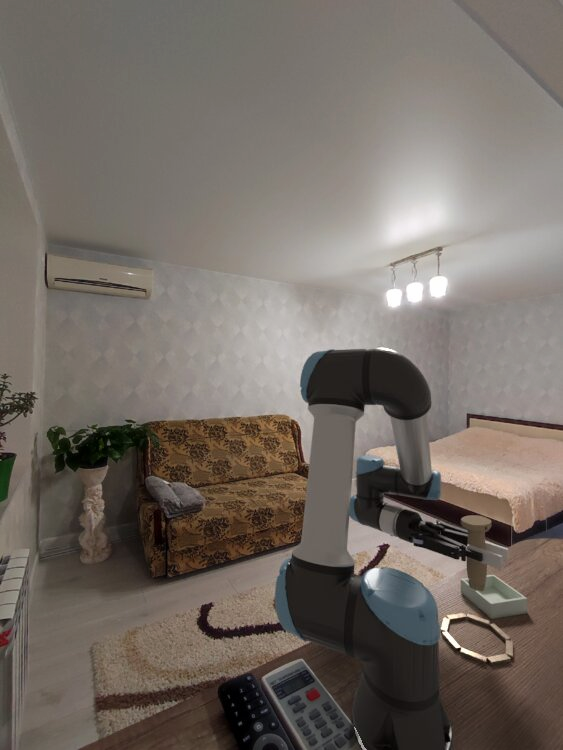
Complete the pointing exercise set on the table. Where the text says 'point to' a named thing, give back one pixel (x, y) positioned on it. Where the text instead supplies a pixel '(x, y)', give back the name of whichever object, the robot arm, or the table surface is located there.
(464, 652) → the collar ring
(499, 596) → the bin
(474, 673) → the table surface
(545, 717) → the table surface
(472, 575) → the handle
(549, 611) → the table surface
